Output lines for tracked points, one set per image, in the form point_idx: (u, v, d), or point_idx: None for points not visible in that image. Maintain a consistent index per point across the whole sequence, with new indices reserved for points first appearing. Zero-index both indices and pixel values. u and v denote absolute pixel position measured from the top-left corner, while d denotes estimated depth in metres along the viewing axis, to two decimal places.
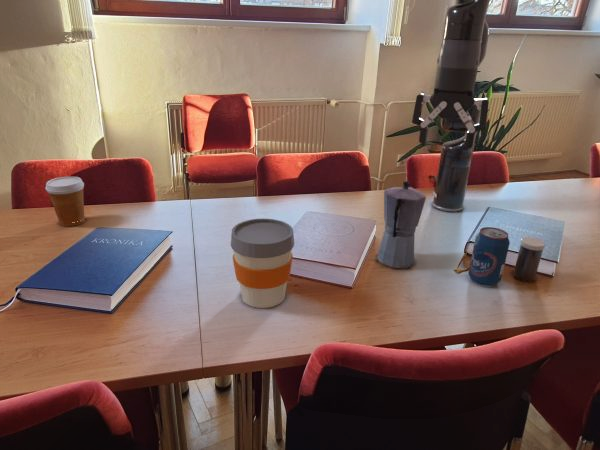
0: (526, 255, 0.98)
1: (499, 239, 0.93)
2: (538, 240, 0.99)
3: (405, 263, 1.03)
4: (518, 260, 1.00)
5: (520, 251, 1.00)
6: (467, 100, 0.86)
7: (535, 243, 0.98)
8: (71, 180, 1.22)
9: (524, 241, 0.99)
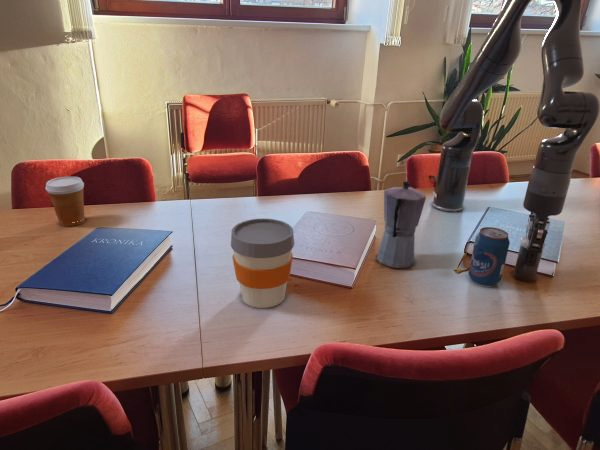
0: None
1: (499, 239, 0.93)
2: None
3: (405, 263, 1.03)
4: (518, 260, 1.00)
5: (520, 251, 1.00)
6: (534, 220, 0.94)
7: None
8: (71, 180, 1.22)
9: (524, 241, 0.98)
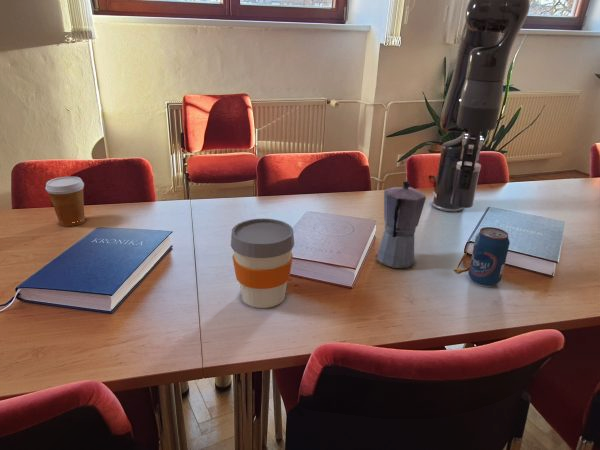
0: None
1: (499, 239, 0.93)
2: None
3: (405, 263, 1.03)
4: (454, 185, 0.95)
5: (456, 175, 0.94)
6: (467, 137, 0.88)
7: (470, 165, 0.92)
8: (71, 180, 1.22)
9: (459, 163, 0.93)
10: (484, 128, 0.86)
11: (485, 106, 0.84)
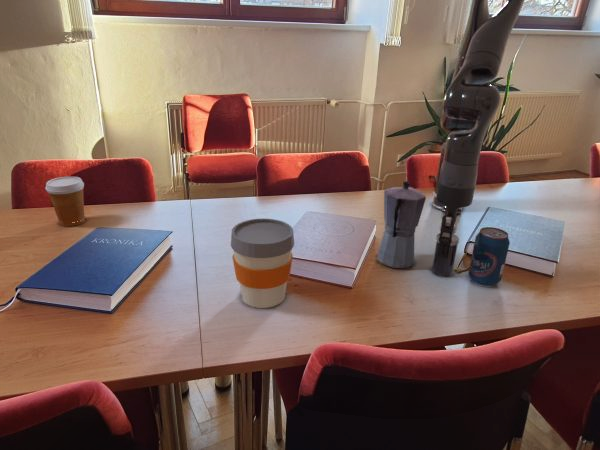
0: None
1: (499, 239, 0.93)
2: (453, 235, 1.00)
3: (405, 263, 1.03)
4: (434, 255, 1.02)
5: (436, 246, 1.01)
6: (445, 211, 0.95)
7: None
8: (71, 180, 1.22)
9: (439, 236, 1.00)
10: (460, 205, 0.93)
11: (461, 186, 0.91)
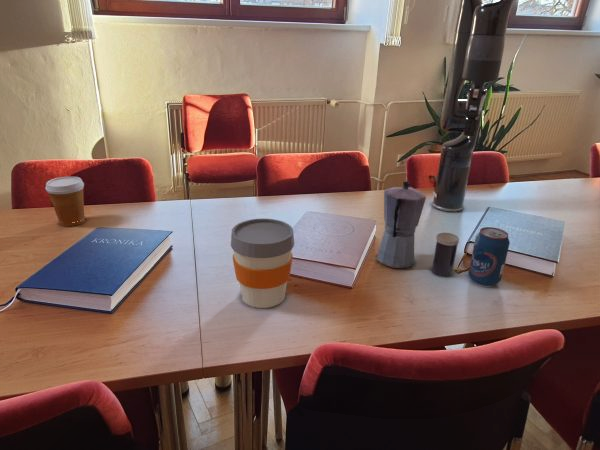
0: (441, 250, 0.99)
1: (499, 239, 0.93)
2: (453, 235, 1.00)
3: (405, 263, 1.03)
4: (434, 255, 1.02)
5: (436, 246, 1.01)
6: (472, 88, 0.97)
7: (449, 238, 0.99)
8: (71, 180, 1.22)
9: (439, 236, 1.00)
10: (487, 79, 0.95)
11: (488, 58, 0.93)
